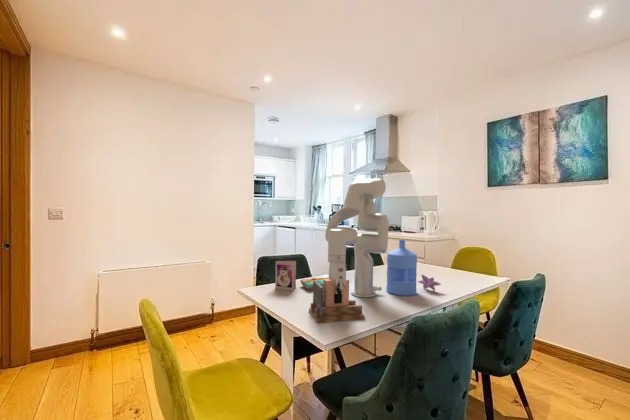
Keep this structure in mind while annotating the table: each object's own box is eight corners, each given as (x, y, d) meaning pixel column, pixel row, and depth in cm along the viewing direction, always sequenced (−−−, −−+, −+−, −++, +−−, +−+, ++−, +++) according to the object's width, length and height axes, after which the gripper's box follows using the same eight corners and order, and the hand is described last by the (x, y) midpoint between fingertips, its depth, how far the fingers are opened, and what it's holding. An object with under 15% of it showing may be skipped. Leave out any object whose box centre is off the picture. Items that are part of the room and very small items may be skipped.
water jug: (382, 288, 176) (383, 238, 175) (409, 288, 177) (410, 238, 176) (391, 296, 160) (392, 242, 160) (421, 296, 161) (422, 242, 161)
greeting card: (274, 288, 171) (274, 261, 171) (280, 285, 178) (281, 259, 178) (293, 291, 167) (293, 263, 167) (299, 287, 174) (299, 261, 174)
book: (345, 305, 135) (345, 277, 135) (348, 308, 131) (349, 280, 131) (323, 307, 132) (323, 278, 132) (325, 310, 128) (326, 281, 128)
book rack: (351, 308, 141) (352, 278, 141) (364, 319, 127) (365, 286, 127) (308, 311, 136) (309, 280, 136) (317, 323, 122) (317, 288, 122)
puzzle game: (300, 278, 178) (332, 275, 186) (300, 286, 178) (332, 283, 186) (308, 283, 167) (341, 280, 175) (307, 292, 167) (341, 288, 175)
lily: (443, 295, 167) (443, 279, 171) (429, 289, 163) (430, 273, 167) (426, 296, 176) (426, 281, 180) (413, 291, 171) (413, 275, 175)
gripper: (352, 261, 124) (351, 307, 124) (338, 254, 140) (338, 295, 141) (334, 262, 122) (333, 308, 122) (322, 255, 138) (322, 296, 139)
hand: (336, 301), depth 131 cm, fingers closed on book, 4 cm apart
